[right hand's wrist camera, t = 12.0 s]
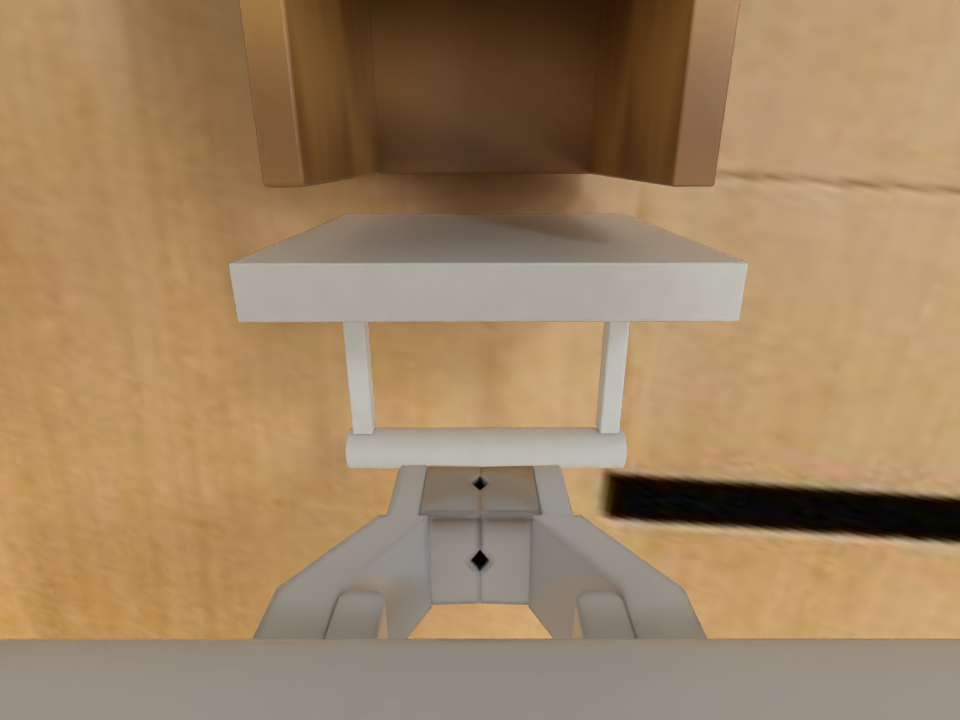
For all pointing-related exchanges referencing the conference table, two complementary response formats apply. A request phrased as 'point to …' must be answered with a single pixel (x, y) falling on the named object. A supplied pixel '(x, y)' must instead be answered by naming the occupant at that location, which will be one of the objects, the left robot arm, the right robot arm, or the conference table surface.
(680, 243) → the drawer
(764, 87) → the conference table surface
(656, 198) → the conference table surface
